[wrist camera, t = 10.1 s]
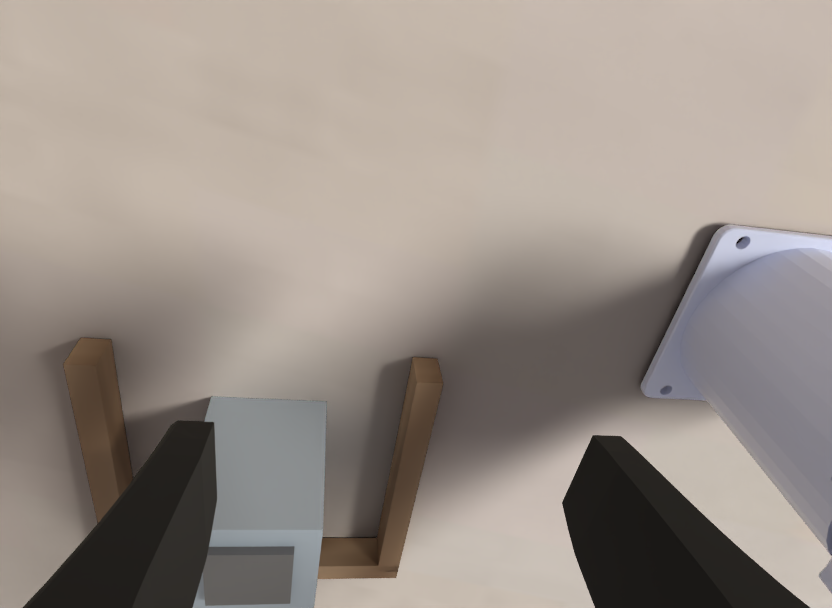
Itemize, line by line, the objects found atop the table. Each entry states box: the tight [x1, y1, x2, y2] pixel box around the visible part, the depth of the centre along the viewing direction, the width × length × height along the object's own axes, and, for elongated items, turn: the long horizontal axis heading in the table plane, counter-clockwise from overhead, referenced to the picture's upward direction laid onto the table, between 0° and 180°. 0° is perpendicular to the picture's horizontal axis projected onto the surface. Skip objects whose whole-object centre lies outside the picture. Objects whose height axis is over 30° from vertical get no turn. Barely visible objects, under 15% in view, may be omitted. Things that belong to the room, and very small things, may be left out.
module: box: [193, 396, 327, 608], centre depth 21 cm, size 5×4×6 cm
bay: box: [63, 338, 443, 579], centre depth 23 cm, size 13×12×2 cm
